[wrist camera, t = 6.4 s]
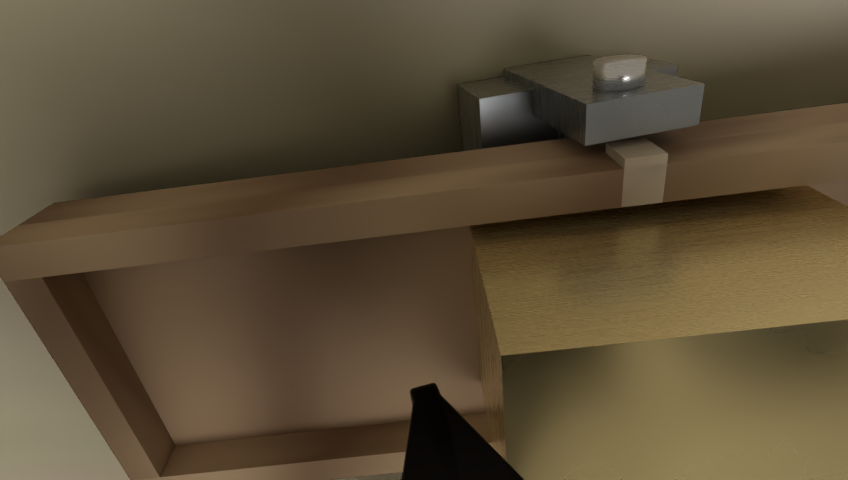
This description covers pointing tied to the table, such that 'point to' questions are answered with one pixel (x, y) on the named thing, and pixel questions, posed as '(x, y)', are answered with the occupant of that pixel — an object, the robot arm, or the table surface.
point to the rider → (668, 339)
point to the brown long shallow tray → (336, 288)
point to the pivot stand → (578, 102)
